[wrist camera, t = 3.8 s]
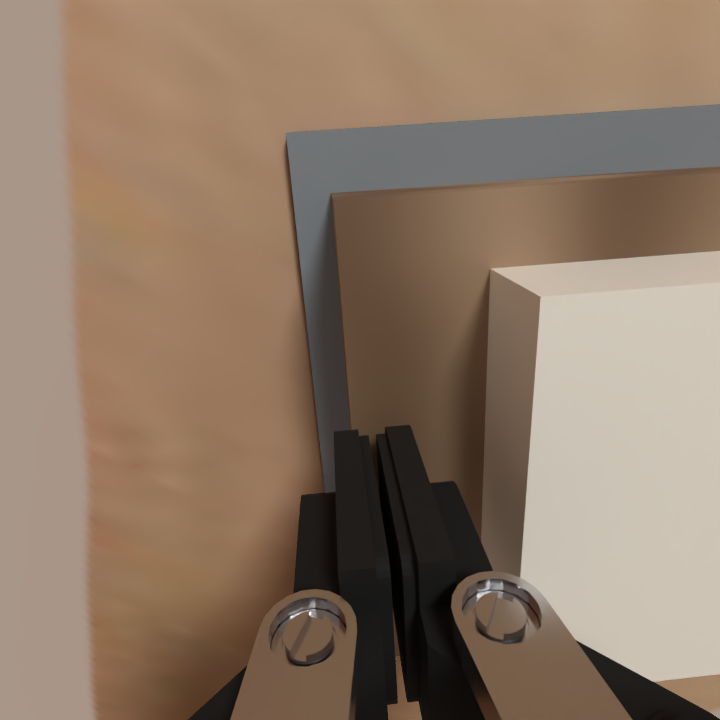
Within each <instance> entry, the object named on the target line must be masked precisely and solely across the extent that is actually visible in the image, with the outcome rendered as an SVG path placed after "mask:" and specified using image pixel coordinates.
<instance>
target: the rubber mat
mask: <svg viewBox="0 0 720 720" xmlns="http://www.w3.org/2000/svg"><path fill="white" fill-rule="evenodd" d="M286 138H287V147H288V157H289V166H290V175H291V184H292V193H293V203H294V212H295V221H296V230H297V239H298V249H299V258H300V267H301V276H302V285H303V295H304V304H305V313H306V322H307V331H308V341H309V350H310V359H311V368H312V377H313V387H314V396H315V405H316V414H317V424H318V433H319V442H320V451H321V460H322V470H323V479H324V488H325V493H329V492H335V461H334V431H345V430H350V422H349V410H348V397H347V385H346V373H345V360H344V348H343V336H342V324H341V311H340V299H339V287H338V274H337V262H336V250H335V238H334V225H333V213H332V201H331V193H340V192H354V191H368V190H383V189H397V188H411V187H425V186H439V185H454V184H468V183H482V182H496V181H511V180H525V179H539V178H553V177H568V176H582V175H596V174H610V173H624V172H639V171H653V170H667V169H681V168H696V167H710V166H720V105H705V106H689V107H674V108H658V109H643V110H628V111H612V112H597V113H581V114H566V115H551V116H535V117H520V118H505V119H489V120H474V121H458V122H443V123H428V124H412V125H397V126H382V127H366V128H351V129H335V130H320V131H305V132H289V133H286Z"/></svg>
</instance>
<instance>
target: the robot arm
mask: <svg viewBox="0 0 720 720" xmlns="http://www.w3.org/2000/svg"><path fill="white" fill-rule="evenodd" d="M376 446H377V462H378V479H379V495H378V489H377V483H376V477H375V471H374V465H373V459H372V453H371V447H370V441H369V435H362V436H359V432H358V429H356V430H345V431H334V461H335V492H329V493H319V494H308V495H302V496H301V503H300V516H299V529H298V542H297V555H296V568H295V581H294V594H291V595H288V596H287V597H285V598H284V599H282V600H281V601H279V602H278V603H276V604H275V605H274V606H273V607H272V608H271V609H270V611H269V612H268V613H267V614H266V615H265V617H264V619H263V621H262V623H261V625H260V627H259V630H258V633H257V636H256V640H255V643H254V646H253V649H252V652H251V656H250V659H249V662H248V665H247V666H246V667H245V668H244V669H243V670H242V671H241V672H240V673H239V674H238V675H236V676H235V677H234V678H233V679H232V680H231V681H230V682H229V683H228V684H227V685H226V686H224V687H223V688H222V689H221V690H220V691H219V692H218V693H217V694H216V695H215V696H214V697H212V698H211V699H210V700H209V701H208V702H207V703H206V704H205V705H204V706H203V707H201V708H200V709H199V710H198V711H197V712H196V713H195V714H194V715H193V716H192V717H191V718H189V719H188V720H388V710H387V705H389V704H397V703H398V701H397V681H396V663H395V644H394V625H393V614H394V621H395V627H396V634H397V640H398V647H399V653H400V660H401V666H402V672H403V679H404V685H405V692H406V698H407V702H415V701H419V705H420V711H421V716H422V720H720V719H719V718H717V717H716V716H714V715H713V714H711V713H710V712H708V711H706V710H704V709H702V708H700V707H698V706H697V705H695V704H693V703H691V702H689V701H687V700H686V699H684V698H682V697H680V696H678V695H676V694H674V693H673V692H671V691H669V690H667V689H665V688H663V687H662V686H660V685H658V684H656V683H654V682H652V681H650V680H649V679H647V678H645V677H643V676H641V675H639V674H638V673H636V672H634V671H632V670H630V669H628V668H626V667H625V666H623V665H621V664H619V663H617V662H615V661H614V660H612V659H610V658H608V657H606V656H604V655H602V654H601V653H599V652H597V651H595V650H593V649H591V648H590V647H588V646H586V645H584V644H582V643H580V642H578V641H577V640H575V639H574V637H573V636H572V635H571V633H570V632H569V630H568V629H567V628H566V626H565V625H564V623H563V622H562V621H561V619H560V618H559V616H558V615H557V614H556V612H555V611H554V609H553V608H552V607H551V605H550V604H549V602H548V601H547V600H546V598H545V597H544V596H543V595H542V594H541V593H540V592H539V591H538V590H537V588H536V587H534V586H533V585H531V584H530V583H528V582H527V581H525V580H524V579H522V578H520V577H517V576H514V575H512V574H509V573H504V572H497V571H493V569H492V566H491V564H490V562H489V559H488V557H487V555H486V552H485V550H484V547H483V545H482V543H481V540H480V538H479V536H478V533H477V531H476V529H475V526H474V524H473V522H472V519H471V517H470V515H469V512H468V510H467V508H466V505H465V503H464V501H463V498H462V496H461V493H460V491H459V489H458V486H457V485H456V483H455V482H454V481H445V482H435V483H430V481H429V478H428V475H427V472H426V469H425V467H424V464H423V461H422V458H421V455H420V452H419V449H418V446H417V443H416V440H415V437H414V434H413V431H412V428H411V426H410V425H400V426H389V427H385V434H376ZM379 496H380V501H379Z"/></svg>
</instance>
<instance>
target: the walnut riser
mask: <svg viewBox="0 0 720 720" xmlns="http://www.w3.org/2000/svg"><path fill="white" fill-rule="evenodd" d="M331 201H332V213H333V225H334V238H335V250H336V262H337V274H338V287H339V299H340V311H341V324H342V336H343V348H344V360H345V373H346V385H347V397H348V410H349V422H350V430H356V429H358V432H359V436H362V435H369V441H370V447H371V453H372V459H373V465H374V471H375V477H376V483H377V489H378V495H379V479H378V462H377V446H376V434H385V427H389V426H400V425H410V426H411V428H412V431H413V434H414V437H415V440H416V443H417V446H418V449H419V452H420V455H421V458H422V461H423V464H424V467H425V469H426V472H427V475H428V478H429V481H430V483H435V482H445V481H454V482H455V483H456V485H457V486H458V489H459V491H460V493H461V496H462V498H463V501H464V503H465V505H466V508H467V510H468V512H469V515H470V517H471V519H472V522H473V524H474V526H475V529H476V531H477V533H478V536H479V538H480V540H481V528H482V498H483V469H484V439H485V409H486V379H487V349H488V320H489V290H490V269H492V268H505V267H518V266H531V265H544V264H557V263H570V262H582V261H595V260H608V259H621V258H634V257H647V256H660V255H673V254H686V253H698V252H711V251H720V166H710V167H696V168H681V169H667V170H653V171H639V172H624V173H610V174H596V175H582V176H568V177H553V178H539V179H525V180H511V181H496V182H482V183H468V184H454V185H439V186H425V187H411V188H397V189H383V190H368V191H354V192H340V193H331ZM379 501H380V496H379ZM393 625H394V644H395V656H398V655H400V653H399V647H398V640H397V634H396V627H395V621H394V614H393Z"/></svg>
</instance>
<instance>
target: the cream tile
mask: <svg viewBox="0 0 720 720" xmlns="http://www.w3.org/2000/svg"><path fill="white" fill-rule="evenodd" d="M481 543H482V545H483V547H484V550H485V552H486V555H487V557H488V559H489V562H490V564H491V566H492V569H493V571H497V572H504V573H509V574H512V575H514V576H517V577H520V578H522V579H524V580H525V581H527V582H528V583H530V584H531V585H533V586H534V587H536V588H537V590H538V591H539V592H540V593H541V594H542V595H543V596H544V597H545V598H546V600H547V601H548V602H549V604H550V605H551V607H552V608H553V609H554V611H555V612H556V614H557V615H558V616H559V618H560V619H561V621H562V622H563V623H564V625H565V626H566V628H567V629H568V630H569V632H570V633H571V635H572V636H573V637H574V639H575V640H577V641H578V642H580V643H582V644H584V645H586V646H588V647H590V648H591V649H593V650H595V651H597V652H599V653H601V654H602V655H604V656H606V657H608V658H610V659H612V660H614V661H615V662H617V663H619V664H621V665H623V666H625V667H626V668H628V669H630V670H632V671H634V672H636V673H638V674H639V675H641V676H643V677H645V678H647V679H649V680H650V681H652V682H654V681H663V680H671V679H680V678H689V677H698V676H707V675H715V674H720V251H711V252H698V253H686V254H673V255H660V256H647V257H634V258H621V259H608V260H595V261H582V262H570V263H557V264H544V265H531V266H518V267H505V268H492V269H490V290H489V320H488V349H487V379H486V409H485V439H484V469H483V498H482V528H481Z"/></svg>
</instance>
